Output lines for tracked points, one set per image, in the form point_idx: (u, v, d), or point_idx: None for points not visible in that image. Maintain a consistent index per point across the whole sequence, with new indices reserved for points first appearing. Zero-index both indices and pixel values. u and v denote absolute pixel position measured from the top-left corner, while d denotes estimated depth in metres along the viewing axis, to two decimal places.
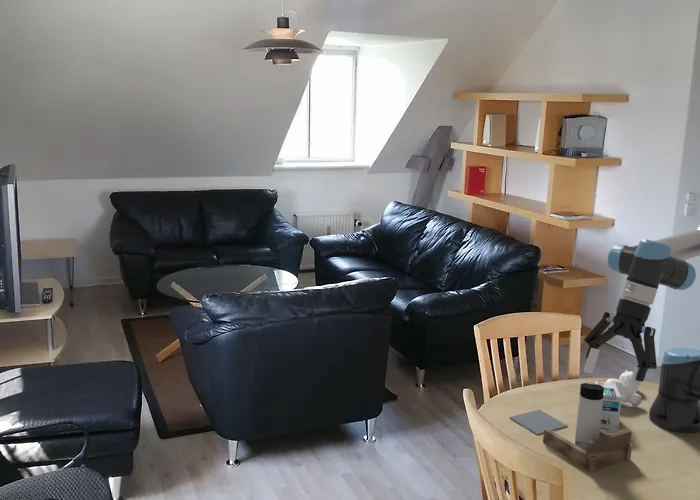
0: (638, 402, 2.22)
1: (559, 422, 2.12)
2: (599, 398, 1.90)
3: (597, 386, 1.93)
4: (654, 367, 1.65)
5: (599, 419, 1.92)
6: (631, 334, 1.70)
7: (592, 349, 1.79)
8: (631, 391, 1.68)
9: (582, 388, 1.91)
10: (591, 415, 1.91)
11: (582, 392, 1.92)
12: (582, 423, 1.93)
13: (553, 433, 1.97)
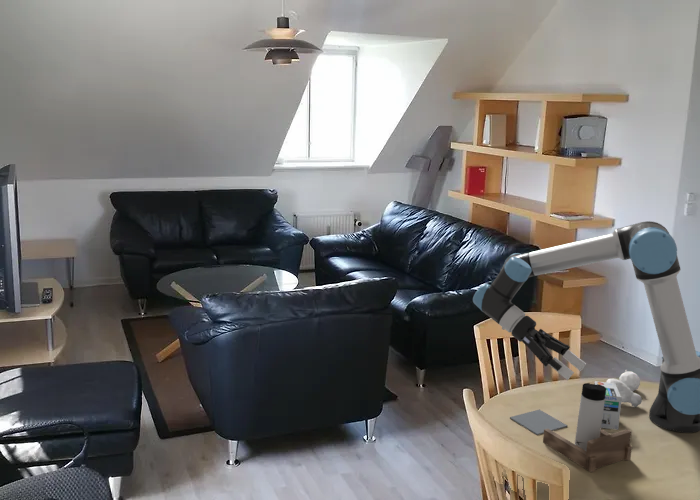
0: (638, 402, 2.22)
1: (559, 422, 2.12)
2: (601, 399, 1.89)
3: (599, 386, 1.92)
4: (545, 358, 1.93)
5: (600, 419, 1.92)
6: None
7: (563, 357, 2.07)
8: (567, 377, 1.93)
9: (584, 388, 1.91)
10: (592, 416, 1.91)
11: (584, 392, 1.91)
12: (583, 423, 1.92)
13: (553, 433, 1.97)
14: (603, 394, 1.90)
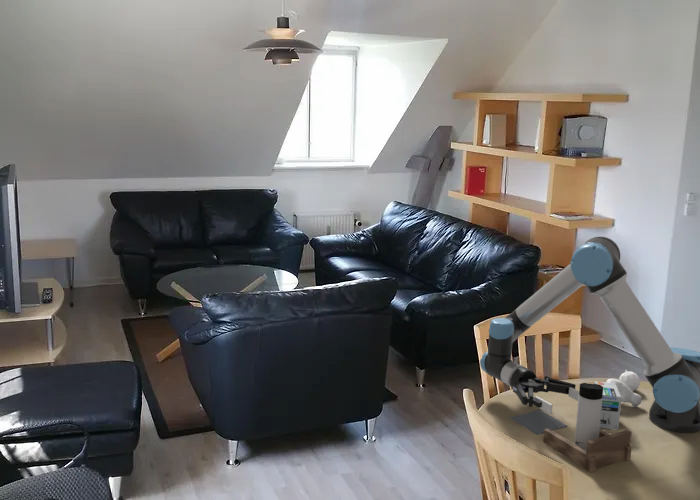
0: (638, 402, 2.22)
1: (559, 422, 2.12)
2: (598, 398, 1.90)
3: (596, 386, 1.93)
4: (523, 399, 2.02)
5: (599, 419, 1.92)
6: None
7: None
8: (548, 411, 1.97)
9: (581, 388, 1.92)
10: (590, 415, 1.91)
11: (581, 392, 1.92)
12: (582, 423, 1.93)
13: (553, 433, 1.97)
14: (600, 393, 1.90)
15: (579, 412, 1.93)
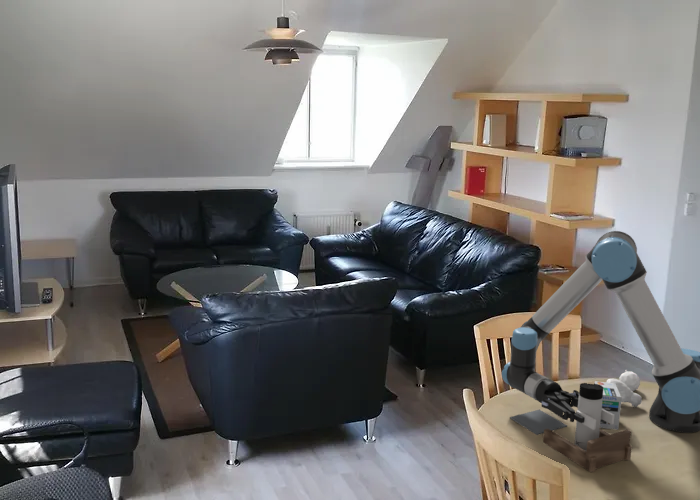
0: (638, 402, 2.22)
1: (559, 422, 2.12)
2: (598, 398, 1.90)
3: (596, 386, 1.93)
4: (565, 414, 1.93)
5: (599, 419, 1.92)
6: None
7: None
8: (592, 427, 1.88)
9: (581, 388, 1.91)
10: (590, 415, 1.91)
11: (581, 392, 1.92)
12: None
13: (553, 433, 1.97)
14: (600, 393, 1.90)
15: None
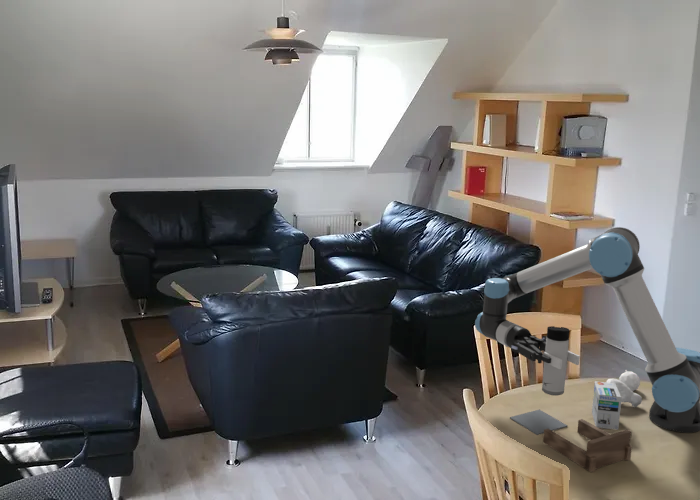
0: (638, 402, 2.22)
1: (559, 422, 2.12)
2: (564, 339, 1.98)
3: (563, 328, 2.01)
4: (533, 355, 2.01)
5: (565, 360, 2.00)
6: None
7: None
8: (558, 367, 1.97)
9: (549, 330, 2.00)
10: (557, 356, 1.99)
11: (549, 334, 2.00)
12: (549, 364, 2.01)
13: (553, 433, 1.97)
14: (567, 335, 1.98)
15: None
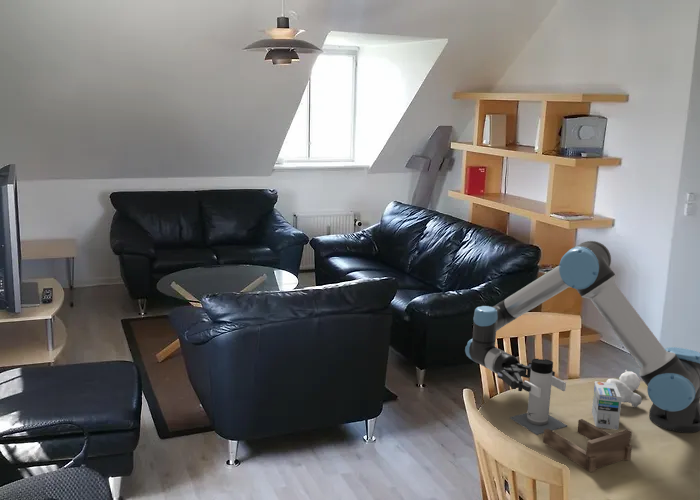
0: (638, 402, 2.22)
1: (559, 422, 2.12)
2: (548, 372, 2.06)
3: (547, 361, 2.09)
4: (513, 383, 2.08)
5: (549, 391, 2.08)
6: None
7: None
8: (537, 395, 2.04)
9: (533, 363, 2.07)
10: (541, 388, 2.07)
11: (533, 367, 2.07)
12: (533, 395, 2.08)
13: (553, 433, 1.97)
14: (550, 367, 2.06)
15: None
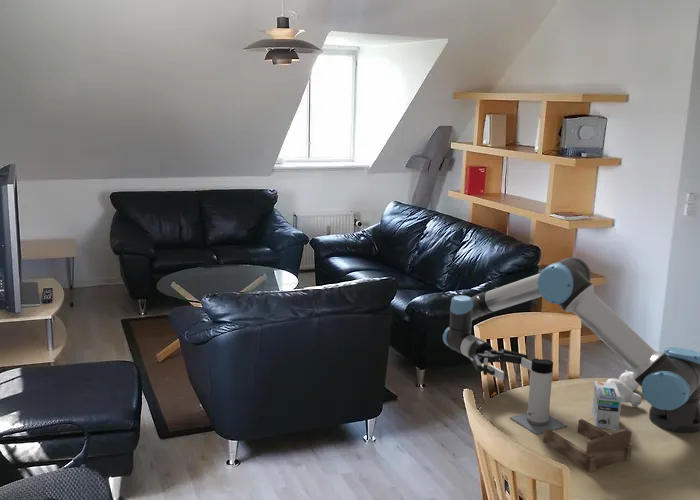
0: (638, 402, 2.22)
1: (559, 422, 2.12)
2: (548, 372, 2.06)
3: (547, 361, 2.09)
4: (478, 367, 2.20)
5: (549, 391, 2.08)
6: None
7: (522, 365, 2.27)
8: (500, 378, 2.15)
9: (533, 363, 2.07)
10: (541, 388, 2.07)
11: (533, 366, 2.08)
12: (533, 395, 2.09)
13: (553, 433, 1.97)
14: (550, 367, 2.06)
15: (531, 385, 2.09)
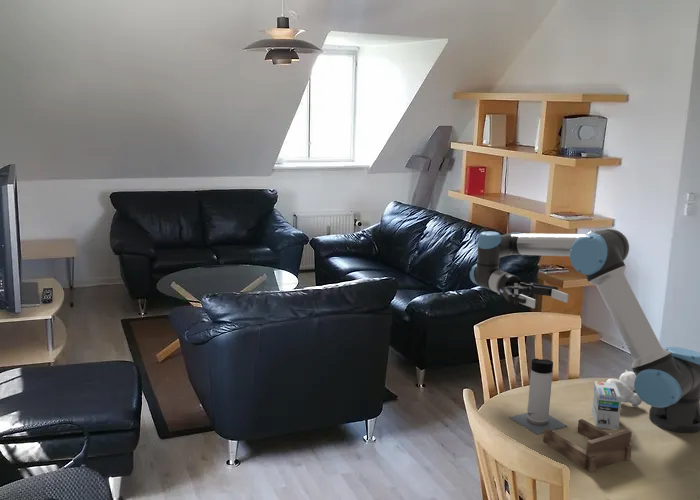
0: (638, 402, 2.22)
1: (559, 422, 2.12)
2: (548, 372, 2.06)
3: (547, 361, 2.09)
4: (509, 296, 2.18)
5: (549, 391, 2.08)
6: None
7: None
8: (532, 306, 2.13)
9: (533, 363, 2.07)
10: (541, 388, 2.07)
11: (533, 366, 2.08)
12: (533, 395, 2.09)
13: (553, 433, 1.97)
14: (550, 367, 2.06)
15: (531, 385, 2.09)
